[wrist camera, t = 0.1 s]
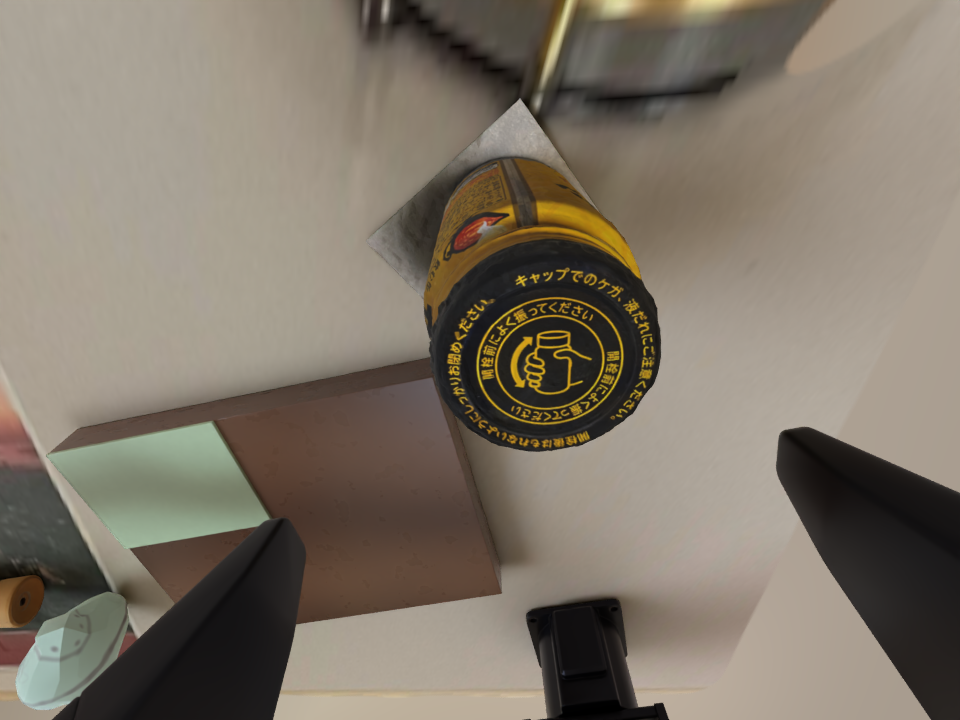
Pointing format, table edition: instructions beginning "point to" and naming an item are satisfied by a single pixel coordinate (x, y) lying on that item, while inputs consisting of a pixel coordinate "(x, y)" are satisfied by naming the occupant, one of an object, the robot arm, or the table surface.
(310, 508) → the walnut board
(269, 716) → the robot arm
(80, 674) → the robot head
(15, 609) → the kendama
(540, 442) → the condiment
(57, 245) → the table surface
